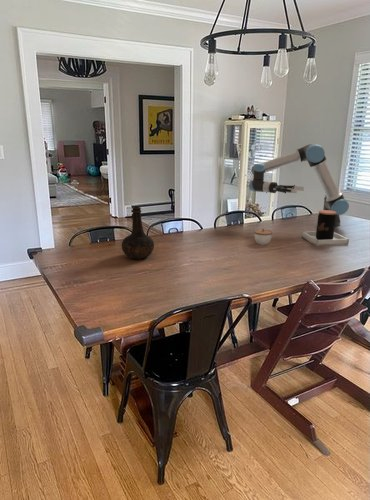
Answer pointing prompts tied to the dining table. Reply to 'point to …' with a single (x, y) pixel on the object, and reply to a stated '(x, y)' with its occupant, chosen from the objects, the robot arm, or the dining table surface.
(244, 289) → the dining table surface
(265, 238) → the lidded jar
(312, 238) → the tray
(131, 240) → the glass bottle
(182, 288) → the dining table surface
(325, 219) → the coffee jar
